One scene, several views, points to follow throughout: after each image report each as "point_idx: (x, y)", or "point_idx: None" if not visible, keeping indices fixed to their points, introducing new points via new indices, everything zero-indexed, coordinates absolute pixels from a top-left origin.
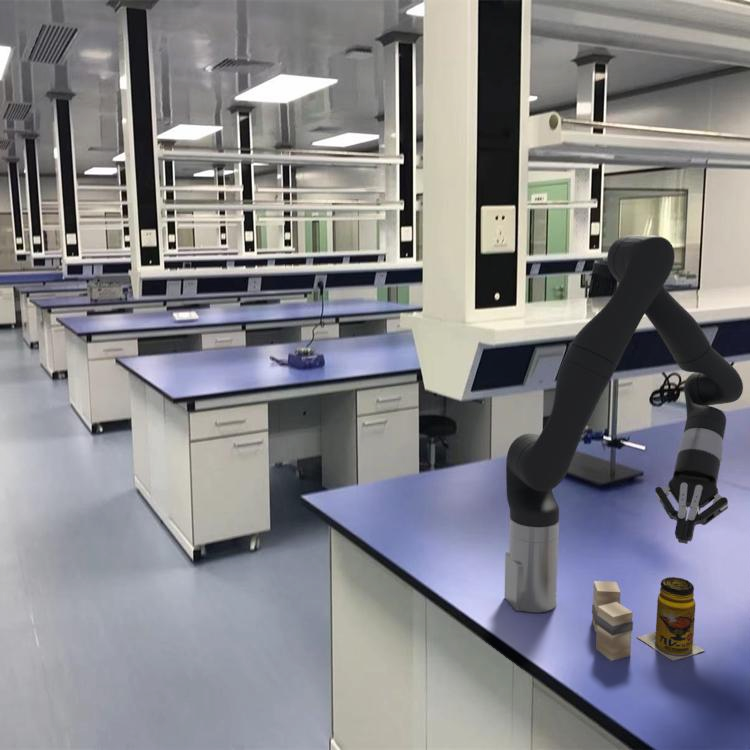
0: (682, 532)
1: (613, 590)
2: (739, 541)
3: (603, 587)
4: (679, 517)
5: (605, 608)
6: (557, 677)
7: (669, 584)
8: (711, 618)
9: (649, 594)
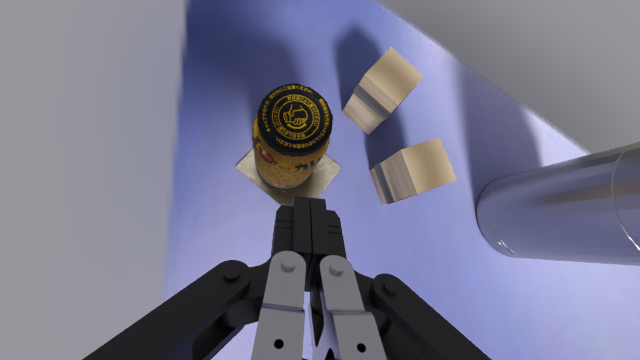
0: (312, 210)
1: (413, 151)
2: None
3: (433, 157)
4: (341, 260)
5: (410, 73)
6: (415, 29)
7: (313, 107)
8: None
9: None
